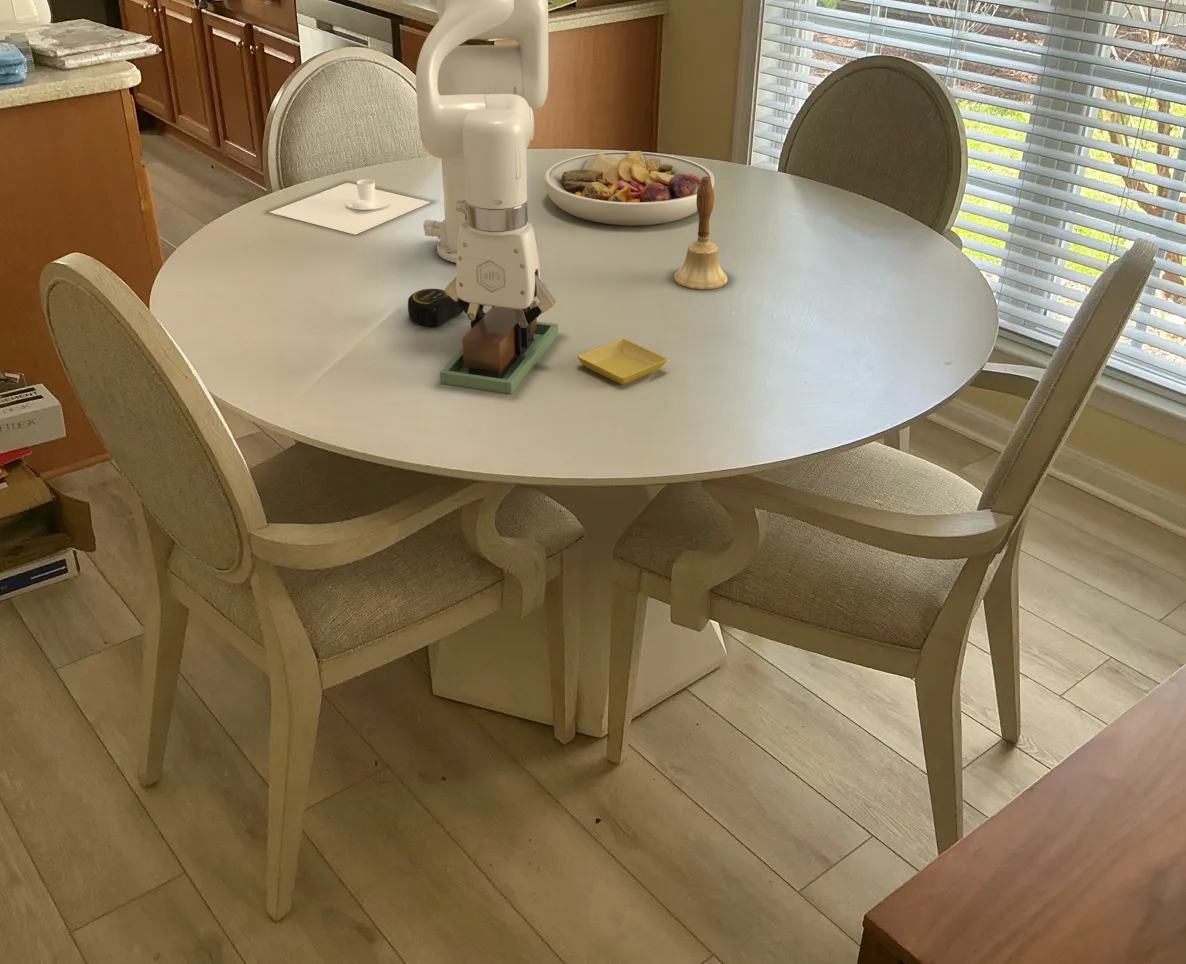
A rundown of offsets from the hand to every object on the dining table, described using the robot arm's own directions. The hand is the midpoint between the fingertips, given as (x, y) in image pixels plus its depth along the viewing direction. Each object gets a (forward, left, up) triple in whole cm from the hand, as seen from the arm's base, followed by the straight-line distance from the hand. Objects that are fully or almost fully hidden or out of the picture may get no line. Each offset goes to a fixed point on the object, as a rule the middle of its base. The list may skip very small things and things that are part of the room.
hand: (501, 346), depth 152 cm
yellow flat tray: (+16, +2, -2) cm, 16 cm away
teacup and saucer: (-47, +49, -2) cm, 68 cm away
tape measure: (-13, +9, -2) cm, 16 cm away
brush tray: (0, 0, -2) cm, 2 cm away
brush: (0, 0, -2) cm, 2 cm away
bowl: (-1, +67, -2) cm, 67 cm away
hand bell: (+19, +36, -2) cm, 41 cm away
